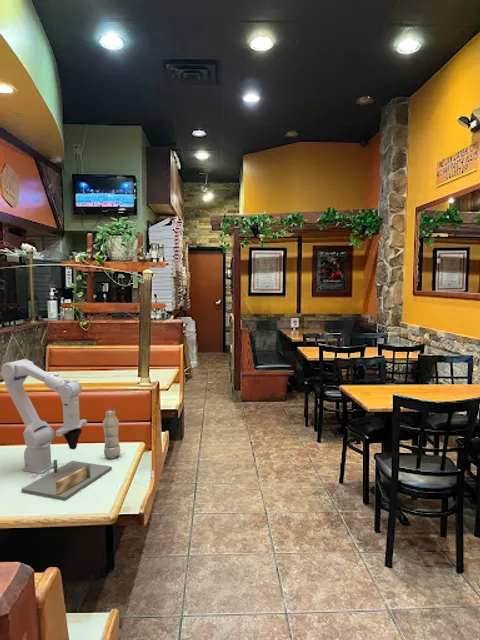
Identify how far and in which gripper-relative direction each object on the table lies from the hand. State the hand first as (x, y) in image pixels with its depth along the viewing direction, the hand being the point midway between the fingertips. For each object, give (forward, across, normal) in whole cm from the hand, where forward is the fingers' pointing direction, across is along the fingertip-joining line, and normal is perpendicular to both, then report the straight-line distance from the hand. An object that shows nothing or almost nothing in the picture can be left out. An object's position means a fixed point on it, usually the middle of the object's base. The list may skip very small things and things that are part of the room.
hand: (72, 448), depth 160 cm
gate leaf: (+8, -12, -9) cm, 17 cm away
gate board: (+9, -6, -3) cm, 12 cm away
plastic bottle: (+10, +17, -5) cm, 20 cm away
